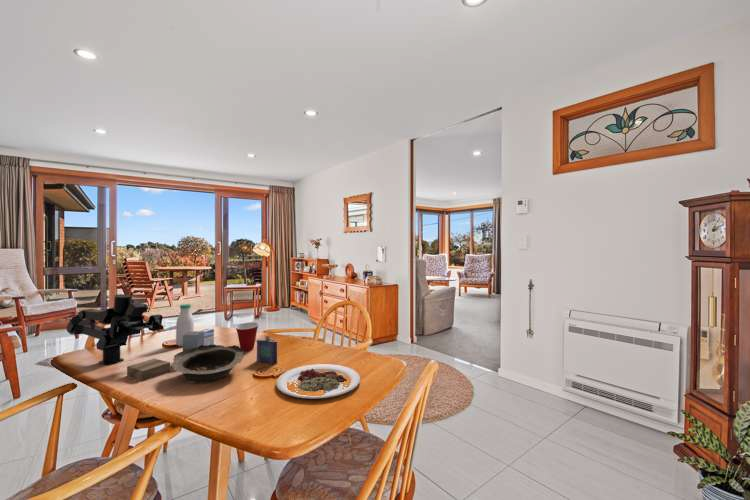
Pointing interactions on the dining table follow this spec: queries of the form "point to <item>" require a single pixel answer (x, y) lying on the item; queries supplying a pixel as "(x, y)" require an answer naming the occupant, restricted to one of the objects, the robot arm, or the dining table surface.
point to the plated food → (318, 380)
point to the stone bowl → (207, 362)
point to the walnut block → (148, 369)
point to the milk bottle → (184, 323)
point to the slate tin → (193, 340)
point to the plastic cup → (247, 335)
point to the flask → (267, 350)
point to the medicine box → (208, 336)
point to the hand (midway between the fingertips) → (151, 330)
